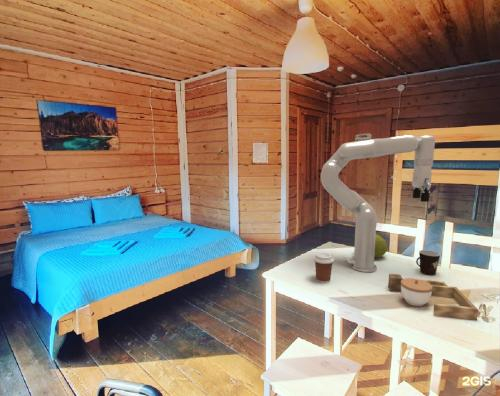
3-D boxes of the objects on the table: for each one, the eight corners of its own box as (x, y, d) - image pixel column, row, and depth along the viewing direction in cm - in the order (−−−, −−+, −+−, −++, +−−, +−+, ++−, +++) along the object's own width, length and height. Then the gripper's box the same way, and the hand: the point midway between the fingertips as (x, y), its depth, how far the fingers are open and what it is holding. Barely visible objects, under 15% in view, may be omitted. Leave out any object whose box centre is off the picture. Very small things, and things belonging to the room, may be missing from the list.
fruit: (381, 251, 171) (392, 233, 162) (379, 268, 160) (391, 249, 151) (354, 241, 175) (363, 222, 166) (350, 256, 164) (360, 237, 155)
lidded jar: (393, 296, 119) (395, 274, 117) (418, 294, 120) (420, 273, 118) (410, 310, 108) (412, 286, 107) (437, 308, 109) (439, 285, 108)
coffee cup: (309, 278, 137) (309, 253, 135) (323, 274, 141) (324, 250, 139) (322, 285, 129) (323, 260, 127) (337, 281, 133) (338, 256, 131)
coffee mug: (432, 269, 145) (434, 250, 143) (442, 276, 137) (444, 256, 135) (408, 268, 146) (409, 249, 145) (416, 275, 138) (417, 255, 136)
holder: (434, 315, 105) (435, 305, 104) (413, 284, 129) (414, 275, 128) (476, 320, 101) (478, 309, 101) (446, 287, 126) (447, 278, 125)
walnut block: (390, 291, 123) (391, 277, 122) (388, 286, 127) (389, 273, 126) (402, 292, 122) (403, 278, 121) (399, 287, 126) (400, 274, 125)
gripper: (407, 162, 142) (405, 196, 145) (422, 163, 125) (418, 202, 128) (424, 162, 141) (421, 197, 144) (441, 163, 124) (437, 203, 127)
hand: (420, 199), depth 136 cm, fingers open, 9 cm apart
